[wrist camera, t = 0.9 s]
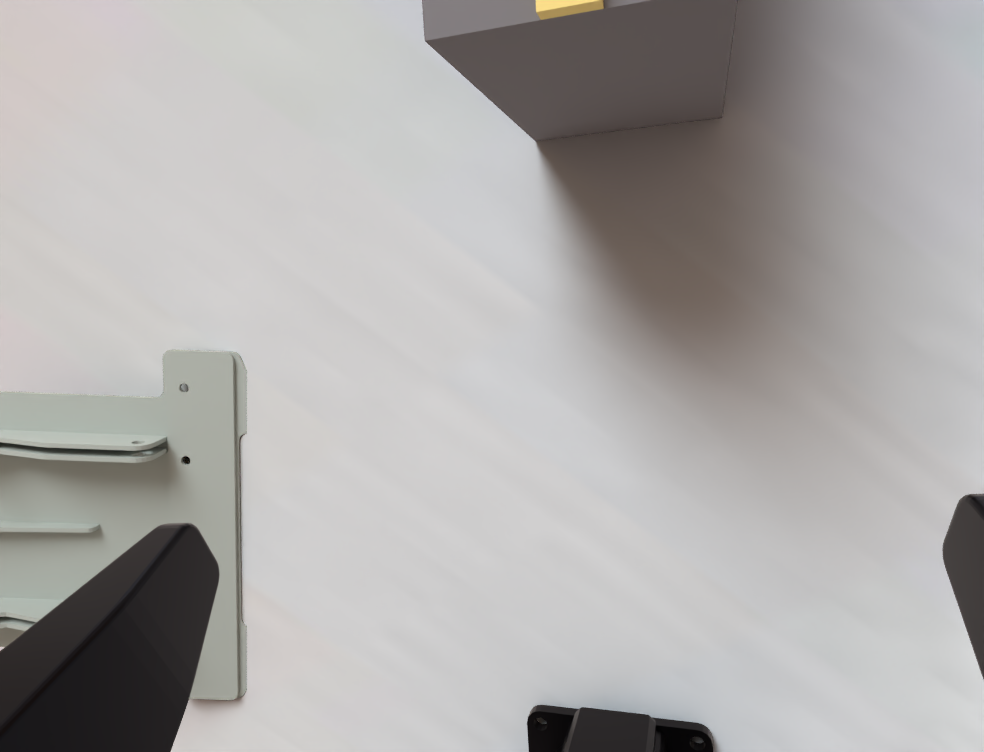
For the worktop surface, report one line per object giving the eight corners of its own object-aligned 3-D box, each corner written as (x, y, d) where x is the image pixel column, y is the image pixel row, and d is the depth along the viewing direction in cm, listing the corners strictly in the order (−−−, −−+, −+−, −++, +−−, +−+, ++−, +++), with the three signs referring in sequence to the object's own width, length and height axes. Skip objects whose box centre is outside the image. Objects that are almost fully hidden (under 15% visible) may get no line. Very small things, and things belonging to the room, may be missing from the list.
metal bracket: (-100, 713, 28) (-132, 344, 26) (2, 638, 34) (-18, 332, 32) (255, 726, 28) (251, 358, 26) (296, 649, 34) (295, 344, 32)
